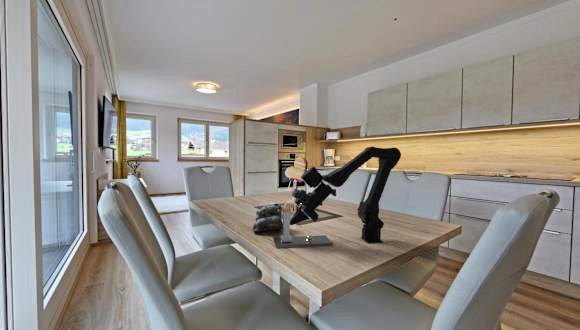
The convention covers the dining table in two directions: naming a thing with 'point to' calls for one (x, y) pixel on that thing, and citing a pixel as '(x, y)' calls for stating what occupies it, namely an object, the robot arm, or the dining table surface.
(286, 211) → the post
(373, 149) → the robot arm
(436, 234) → the dining table surface
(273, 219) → the dark grey lumpy block
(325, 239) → the bolt plate
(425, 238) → the dining table surface
